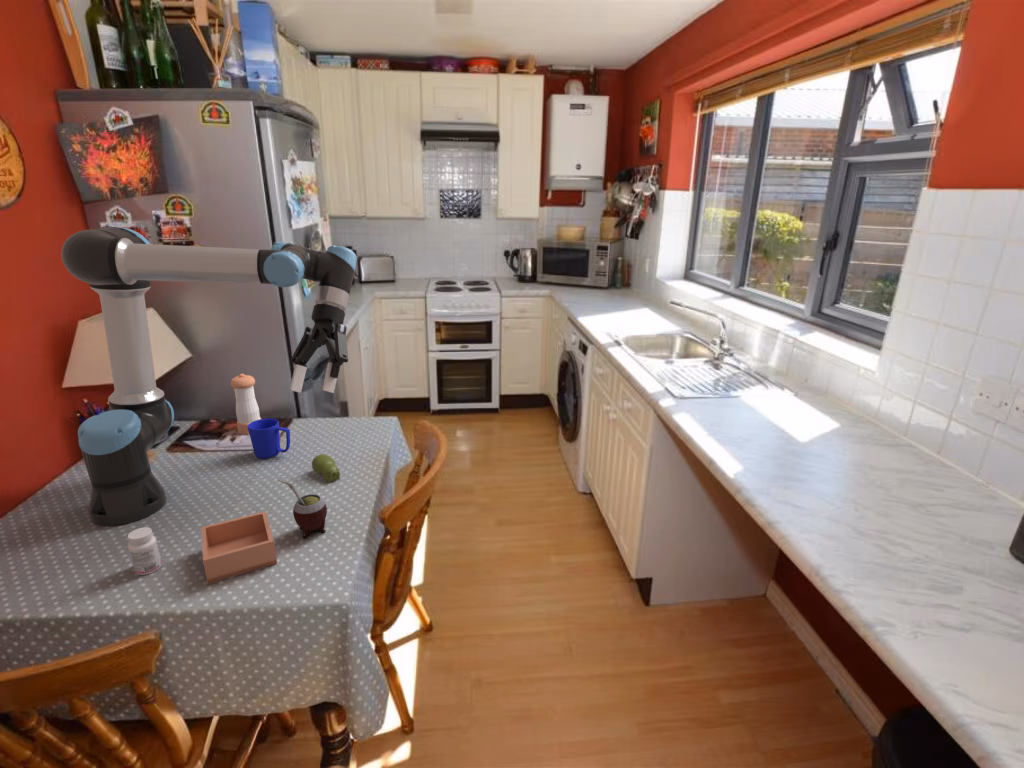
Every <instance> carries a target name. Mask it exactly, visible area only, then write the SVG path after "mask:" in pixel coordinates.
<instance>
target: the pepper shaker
mask: <svg viewBox="0 0 1024 768" xmlns="http://www.w3.org/2000/svg"><path fill="white" fill-rule="evenodd" d="M255 384H256V380H255V377H253V376H252V375H248V374H244V373H239V374H238V375H236V376H234V377H233V378H231V381H230V384H229V385H230V387H232V389H233V391H234V397H235V414H236V419H237V421H236V426H237V427H236V429H237V432H238V434H240V435H250V434H249V431H248V425H249V424H250V423H251V422H253V421H256V420H260V419H262V417H261V415H260V408H259V405H258V401H257V399H256V395H255V388H254V386H255Z"/></svg>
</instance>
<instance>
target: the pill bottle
mask: <svg viewBox="0 0 1024 768" xmlns="http://www.w3.org/2000/svg"><path fill="white" fill-rule="evenodd" d="M127 540H128V541H127V542H128V545H127V546H128V547H127V548H128V553H129V556H130V559H131V564H132V567H133V570H134V573H135V575H141V576H143V575H144V576H146V575H149V574H152V573H154V572H156V571H158V570H159V569H160V568H161V567H162V565H163V560H162V556H161V552H160V548H159V545H158V541H157V537H156V536H155V535H154V533H153V531H152V529H151V527H147V526H146V527H139V528H136V529H134V530H132V531H131V532H129V533H128V534H127Z"/></svg>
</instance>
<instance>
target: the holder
mask: <svg viewBox="0 0 1024 768" xmlns="http://www.w3.org/2000/svg"><path fill="white" fill-rule="evenodd" d="M200 530H201V531H200V532H201V547H202V548H201V549H202V550H201V551H202V562H203V568H204V573H205V576H206V582H207V585H211V584H213V583H217V582H219V581H222V580H223V581H224V580H227V579H230V578H233V577H236V576H240V575H243V574H247V573H251V572H254V571H257V570H260V569H265V568H267V567H270V566H275V565H277V564H278V561H277V554H276V553H277V552H276V547H275V541H274V538H273V534H272V529H271V526H270V522H269V519H268V514H267V512H266V510H265V511H260V512H257V513H253V514H249V515H245V516H241V517H237V518H233V519H228V520H224V521H221V522H215V523H212V524H209V525H204V526H202V527H200Z"/></svg>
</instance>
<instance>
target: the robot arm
mask: <svg viewBox="0 0 1024 768" xmlns="http://www.w3.org/2000/svg"><path fill="white" fill-rule="evenodd" d="M60 254H61V261H62V264H63V265H64V267H65V268H66V270H67V272H69V274H71V276H73V277H75V278H76V279H77V280H79V281H81V282H83V283H87V284H89V288H90V289H91V290H93V292H95V293H97V294H98V296H99V300H100V305H101V312H102V318H103V325H104V332H105V339H106V344H107V350H108V356H109V363H110V370H111V376H112V382H113V389H114V390H113V392H112V393H111V394H110V395H109V396H108V398H107V400H108V406H109V410H107V411H104V412H100V413H99V414H95V415H92V416H90V417H88V418H87V419H86V420H84V421H83V422H82V423H81V424H80V425H79V426H78V430H77V438H78V441H77V442H78V446H79V448H80V450H81V454H82V458H83V459H84V460H83V461H84V463H85V468H86V471H87V474H88V478H89V480H90V485H91V493H90V499H89V505H88V512H89V513H88V514H89V516H90V519H91V522H93V524H96V525H99V526H104V527H105V526H106V527H107V526H109V527H110V526H119V525H125V524H129V523H134V522H136V521H139V520H143V519H145V518H146V517H149V516H151V515H153V514H155V513H156V512H158V511H159V510H160V509H161V508H163V507H164V505H165V504H166V502H167V495H166V491H165V489H164V487H163V486H162V485H161V483H160V482H159V480H158V479H157V478H156V476H155V475H154V474H153V471H152V468H151V464H150V460H149V455H148V452H149V451H150V450H151V449H152V448H153V447H154V445H155V444H157V443H158V442H159V441H160V440H161V439H162V438H164V436H165V435H167V433H168V432H169V430H170V429H171V427H172V426H173V424H174V420H175V412H174V408H173V406H172V404H171V403H170V401H168V400H167V399H166V397H165V391H164V390H162V389H160V388H159V387H157V381H156V376H155V367H154V360H153V358H154V357H153V354H152V353H153V351H152V345H151V335H150V329H149V320H148V313H147V307H146V306H147V305H146V299H145V297H146V296H145V295H146V293H147V292H148V291H149V290H150V289H151V287H152V286H151V281H156V282H157V281H161V282H194V283H195V282H196V283H227V284H228V283H231V284H233V283H234V284H236V283H237V284H262V285H263V284H264V285H274V286H276V287H278V288H288V287H289V288H291V287H293V286H296V285H297V284H298V283H300V282H301V280H302V279H304V280H307V281H311V282H316V283H319V284H318V287H317V290H316V291H317V292H316V295H315V300H314V303H315V305H314V306H313V308H312V313H311V317H310V318H311V320H312V321H313V323H314V325H313V327H309V326H306V327H305V328H304V332H303V335H302V337H301V339H300V341H299V343H298V344H297V347H296V348H295V350H294V352H293V355H292V356H291V359H290V363H293V365H294V369H293V373H292V379H291V382H290V386H289V391H292V392H295V393H299V394H300V393H301V394H302V390H303V386H304V381H305V377H306V373H307V368H308V366H307V363H308V362H309V361H310V360H311V358H312V357H313V355H314V354H315V353H316V351H317V350H318V349H319V348H321V347H322V346H326V349H327V353H328V356H329V360H328V362H327V366H326V371H325V375H324V379H323V384H322V389H321V390H322V391H325V392H327V393H332V394H334V393H335V389H336V385H337V380H338V377H339V374H340V369H341V366H342V365H343V364H344V363H348V362H349V354H348V343H347V342H348V341H347V329H348V327H347V326H346V325H344V322H345V317H346V312H345V311H346V310H347V307H348V302H349V297H350V294H351V289H352V285H353V281H354V277H355V272H356V267H357V260H358V257H357V255H356V253H355V252H354V251H353V250H352V249H350V248H348V247H345V246H342V245H335V244H333V245H329V246H328V247H327V249H326V251H325V252H324V251H319V250H315V249H310V248H307V247H305V246H304V247H303V246H300V245H297V244H293V243H290V242H284V241H275V242H274V243H273V244H272V245H271V249H260V248H259V249H258V248H257V249H256V248H238V247H219V246H218V247H214V246H198V245H197V246H196V245H195V246H191V245H176V244H175V245H174V244H173V245H172V244H154V243H153V244H152V243H150V241H148V239H147V238H146V237H144V235H142V234H141V233H139V232H137V231H136V230H134V229H131V228H126V227H120V226H105V227H100V228H93V229H83V230H80V231H77V232H75V233H73V234H71V235H70V236H68V237H67V238H66V239H65V240H64V242H63V244H62V246H61V253H60Z"/></svg>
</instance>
